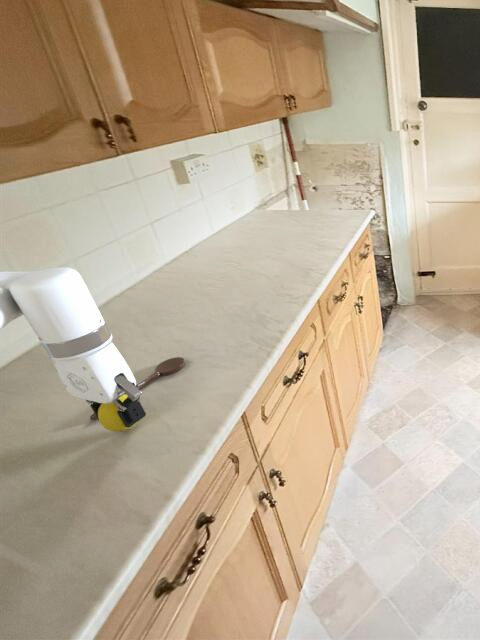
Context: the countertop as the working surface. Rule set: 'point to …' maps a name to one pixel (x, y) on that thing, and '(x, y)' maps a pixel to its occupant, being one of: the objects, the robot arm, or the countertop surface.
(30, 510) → the countertop surface
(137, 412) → the robot arm
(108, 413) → the lemon
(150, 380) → the spoon
